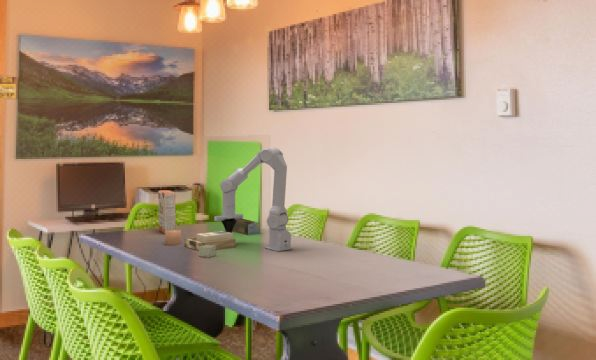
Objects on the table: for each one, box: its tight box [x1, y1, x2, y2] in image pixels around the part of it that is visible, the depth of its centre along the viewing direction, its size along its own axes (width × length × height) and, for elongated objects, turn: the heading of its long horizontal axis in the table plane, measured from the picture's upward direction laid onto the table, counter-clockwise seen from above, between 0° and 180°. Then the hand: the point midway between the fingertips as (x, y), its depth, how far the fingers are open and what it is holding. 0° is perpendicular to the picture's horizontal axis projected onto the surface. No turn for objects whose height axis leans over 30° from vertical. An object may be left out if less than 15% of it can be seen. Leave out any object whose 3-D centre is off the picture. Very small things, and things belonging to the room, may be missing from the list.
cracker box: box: [158, 189, 177, 235], centre depth 292 cm, size 14×6×21 cm, turn 25°
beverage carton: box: [232, 218, 261, 236], centre depth 295 cm, size 8×19×7 cm, turn 39°
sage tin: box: [198, 245, 217, 258], centre depth 236 cm, size 5×5×4 cm
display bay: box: [184, 236, 236, 251], centre depth 255 cm, size 14×18×4 cm
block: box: [164, 228, 182, 246], centre depth 261 cm, size 7×7×6 cm
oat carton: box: [196, 230, 234, 243], centre depth 256 cm, size 8×14×6 cm, turn 131°
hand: (228, 235), depth 262 cm, fingers closed
